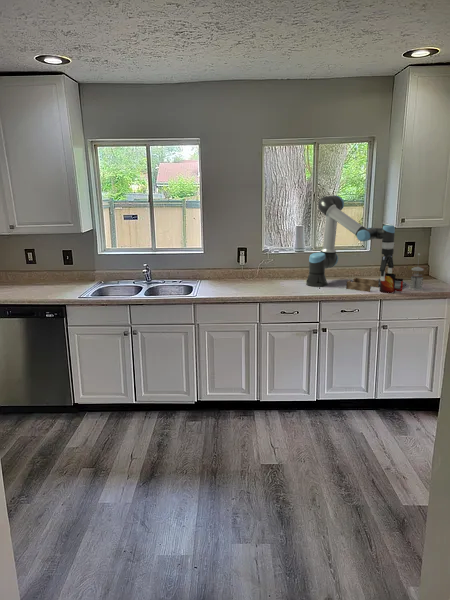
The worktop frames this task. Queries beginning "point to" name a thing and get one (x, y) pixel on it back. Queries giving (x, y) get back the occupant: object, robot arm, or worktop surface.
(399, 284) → the tray
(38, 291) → the worktop surface
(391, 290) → the mug
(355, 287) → the wooden frame
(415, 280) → the french press
